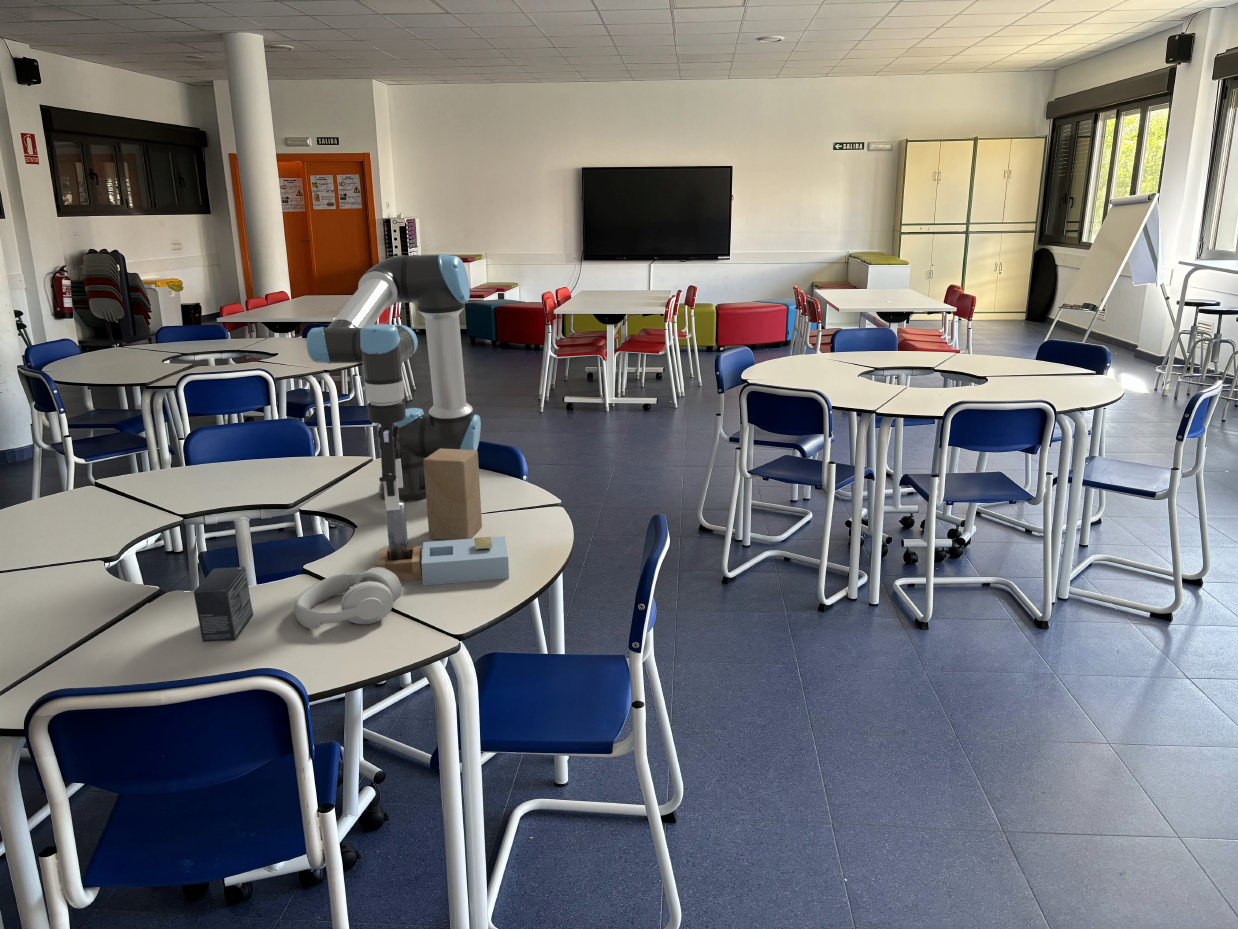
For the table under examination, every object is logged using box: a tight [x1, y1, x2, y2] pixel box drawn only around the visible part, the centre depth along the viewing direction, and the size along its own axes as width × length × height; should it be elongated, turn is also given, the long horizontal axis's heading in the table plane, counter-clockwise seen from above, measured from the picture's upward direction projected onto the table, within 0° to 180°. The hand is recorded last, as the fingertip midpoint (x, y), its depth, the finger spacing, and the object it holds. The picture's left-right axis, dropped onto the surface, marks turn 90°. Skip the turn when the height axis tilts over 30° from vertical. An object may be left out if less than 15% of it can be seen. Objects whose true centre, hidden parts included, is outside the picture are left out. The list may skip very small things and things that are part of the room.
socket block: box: [421, 535, 510, 586], centre depth 189 cm, size 12×18×5 cm, turn 101°
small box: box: [193, 566, 254, 643], centre depth 163 cm, size 11×6×10 cm, turn 5°
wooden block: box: [423, 448, 483, 541], centre depth 208 cm, size 10×10×20 cm
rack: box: [375, 545, 423, 582], centre depth 188 cm, size 9×9×4 cm
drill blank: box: [384, 500, 409, 561], centre depth 187 cm, size 4×4×16 cm
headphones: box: [293, 566, 403, 630], centre depth 170 cm, size 18×8×20 cm
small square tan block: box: [474, 536, 492, 551], centre depth 189 cm, size 4×4×6 cm
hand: (394, 498), depth 184 cm, fingers open, 13 cm apart
